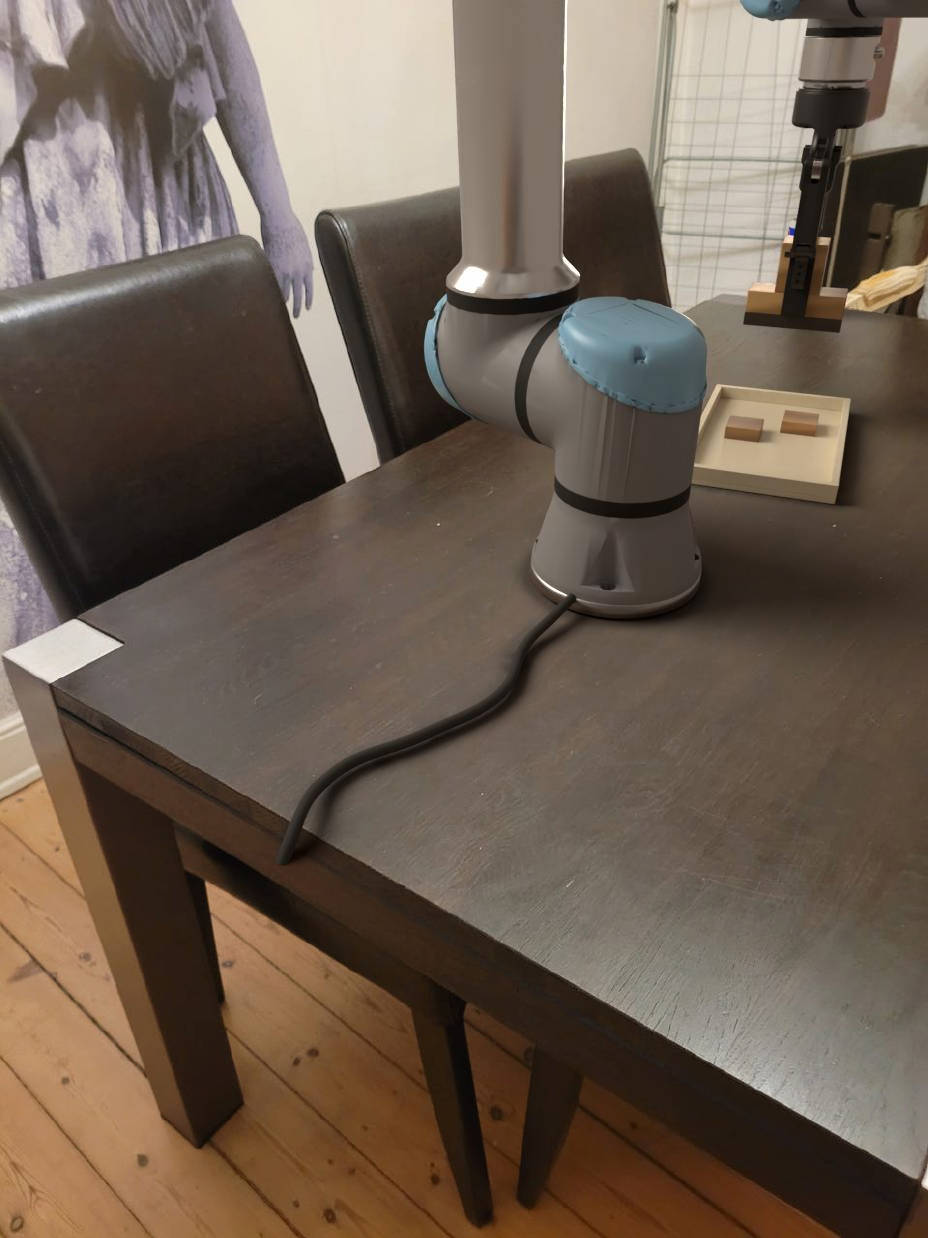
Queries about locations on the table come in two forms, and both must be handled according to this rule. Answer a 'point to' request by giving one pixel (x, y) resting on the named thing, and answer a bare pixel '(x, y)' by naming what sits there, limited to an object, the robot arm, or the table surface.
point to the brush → (821, 304)
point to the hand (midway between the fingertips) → (794, 309)
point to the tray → (772, 445)
